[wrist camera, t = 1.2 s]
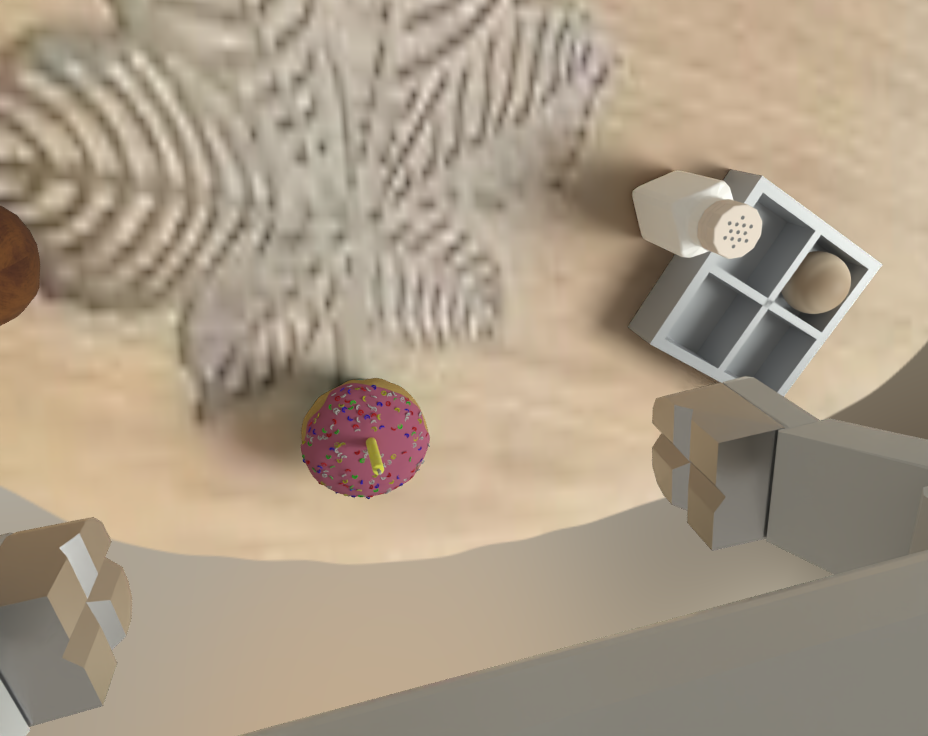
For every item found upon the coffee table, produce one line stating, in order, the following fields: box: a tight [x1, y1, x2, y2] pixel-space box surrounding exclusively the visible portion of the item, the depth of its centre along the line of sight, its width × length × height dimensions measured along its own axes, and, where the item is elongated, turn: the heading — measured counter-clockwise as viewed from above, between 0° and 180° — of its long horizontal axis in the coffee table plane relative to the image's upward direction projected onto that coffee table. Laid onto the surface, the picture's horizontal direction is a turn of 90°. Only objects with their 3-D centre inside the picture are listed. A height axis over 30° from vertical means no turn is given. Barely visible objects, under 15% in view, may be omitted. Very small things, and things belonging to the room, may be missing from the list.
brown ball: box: [781, 251, 851, 314], centre depth 48 cm, size 5×5×5 cm
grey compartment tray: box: [628, 169, 883, 397], centre depth 49 cm, size 13×13×4 cm
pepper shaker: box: [632, 171, 762, 259], centre depth 42 cm, size 4×4×10 cm
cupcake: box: [301, 378, 430, 499], centre depth 42 cm, size 9×8×12 cm
